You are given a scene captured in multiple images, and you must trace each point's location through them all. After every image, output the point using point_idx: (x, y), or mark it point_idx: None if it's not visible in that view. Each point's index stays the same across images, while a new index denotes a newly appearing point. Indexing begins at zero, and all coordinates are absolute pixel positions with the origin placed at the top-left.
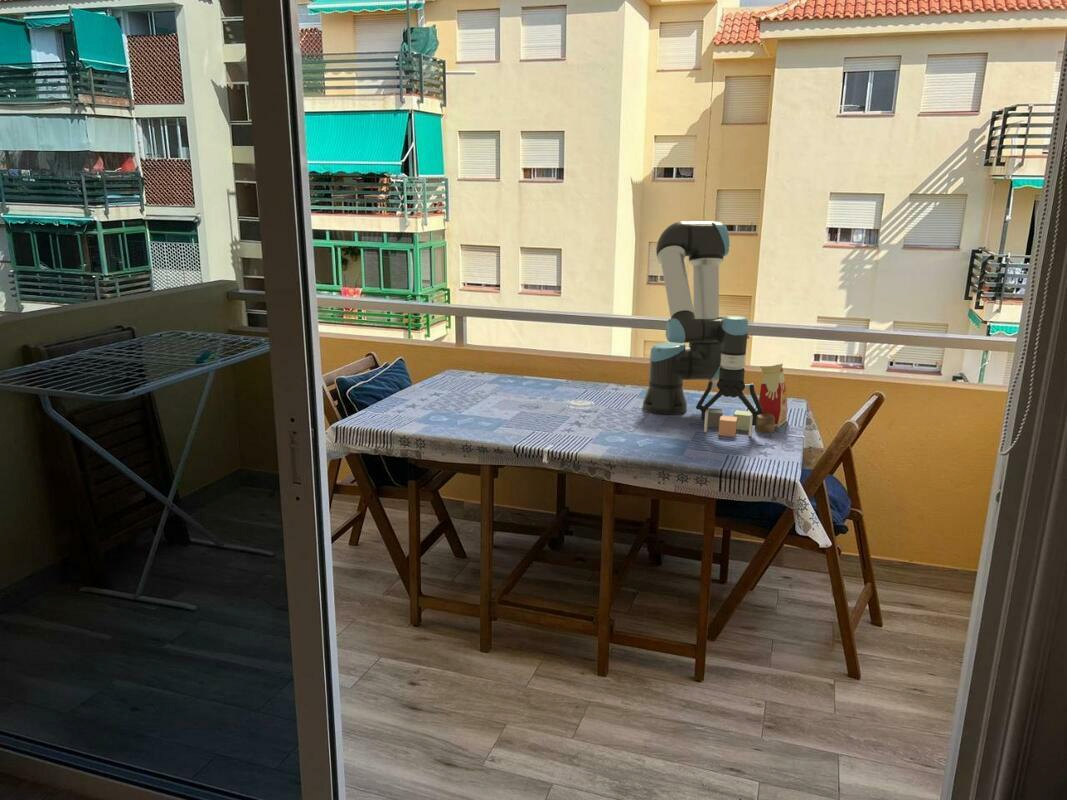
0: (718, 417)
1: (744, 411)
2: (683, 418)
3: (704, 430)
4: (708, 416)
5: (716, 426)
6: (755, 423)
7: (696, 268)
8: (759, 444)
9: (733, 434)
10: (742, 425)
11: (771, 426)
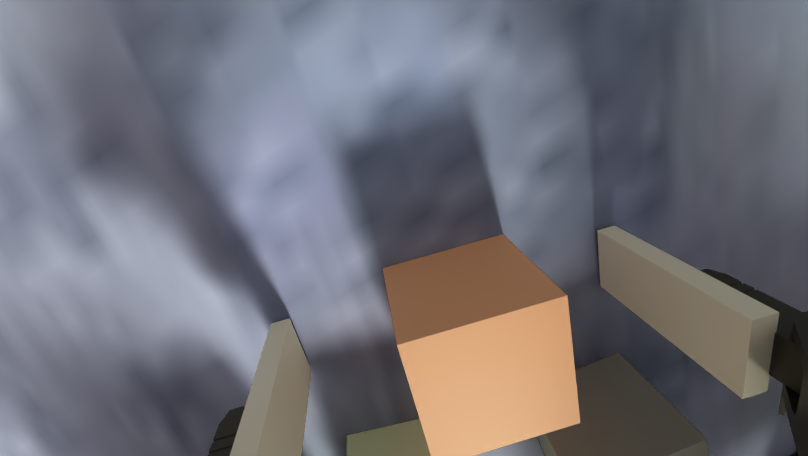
0: (585, 442)
1: None
2: (759, 415)
3: (619, 232)
4: (661, 414)
5: None
6: (221, 429)
7: None
8: (118, 179)
9: (395, 271)
10: (393, 453)
11: None
